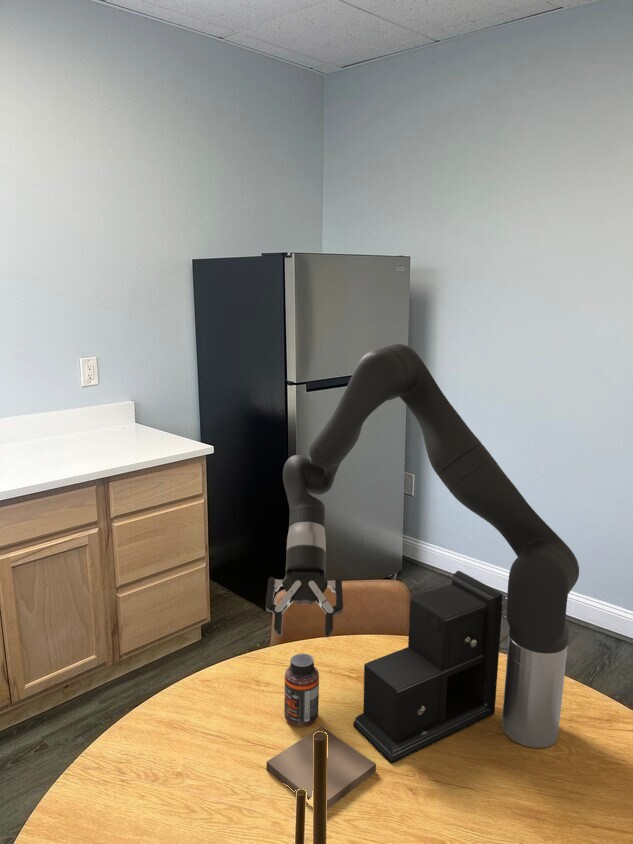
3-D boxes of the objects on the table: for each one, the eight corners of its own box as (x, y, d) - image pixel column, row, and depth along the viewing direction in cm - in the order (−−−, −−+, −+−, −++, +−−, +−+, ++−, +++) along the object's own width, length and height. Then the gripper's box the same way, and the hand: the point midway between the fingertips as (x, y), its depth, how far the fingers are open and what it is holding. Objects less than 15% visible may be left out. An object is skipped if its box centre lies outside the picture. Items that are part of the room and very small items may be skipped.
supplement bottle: (277, 717, 116) (276, 659, 113) (301, 702, 120) (301, 645, 118) (301, 733, 112) (302, 673, 109) (325, 717, 116) (326, 658, 114)
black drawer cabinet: (391, 766, 105) (396, 630, 100) (351, 726, 114) (355, 600, 109) (496, 716, 117) (506, 593, 112) (453, 684, 126) (460, 569, 121)
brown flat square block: (321, 734, 112) (321, 726, 111) (375, 772, 103) (376, 763, 103) (266, 769, 104) (266, 761, 103) (320, 814, 95) (320, 805, 95)
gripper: (268, 542, 126) (262, 629, 117) (343, 543, 125) (343, 631, 117) (270, 556, 132) (265, 640, 123) (342, 558, 132) (342, 642, 123)
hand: (303, 635), depth 120 cm, fingers open, 8 cm apart
